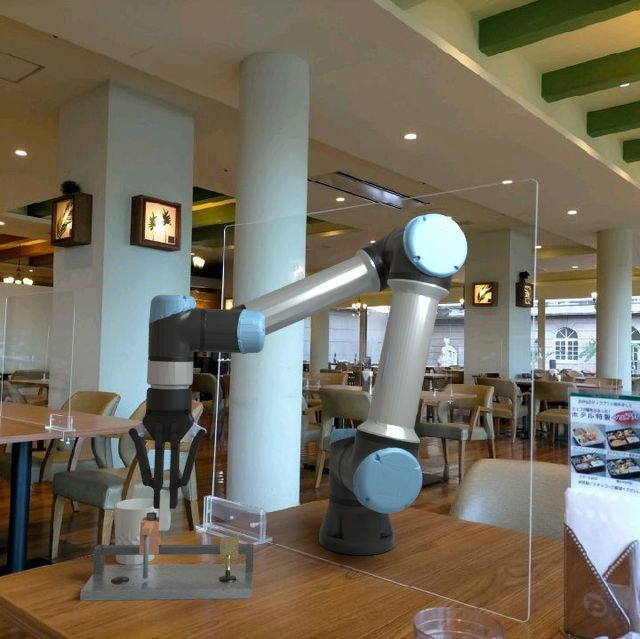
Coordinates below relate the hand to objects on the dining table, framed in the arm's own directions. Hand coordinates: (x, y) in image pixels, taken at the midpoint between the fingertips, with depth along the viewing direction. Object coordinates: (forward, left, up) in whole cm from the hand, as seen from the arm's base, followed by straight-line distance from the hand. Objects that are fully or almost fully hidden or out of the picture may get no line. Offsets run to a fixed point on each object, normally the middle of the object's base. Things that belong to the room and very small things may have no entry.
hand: (164, 527), depth 104 cm
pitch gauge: (-2, +2, -9) cm, 9 cm away
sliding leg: (+2, +2, -7) cm, 7 cm away
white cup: (+7, -11, -9) cm, 15 cm away
